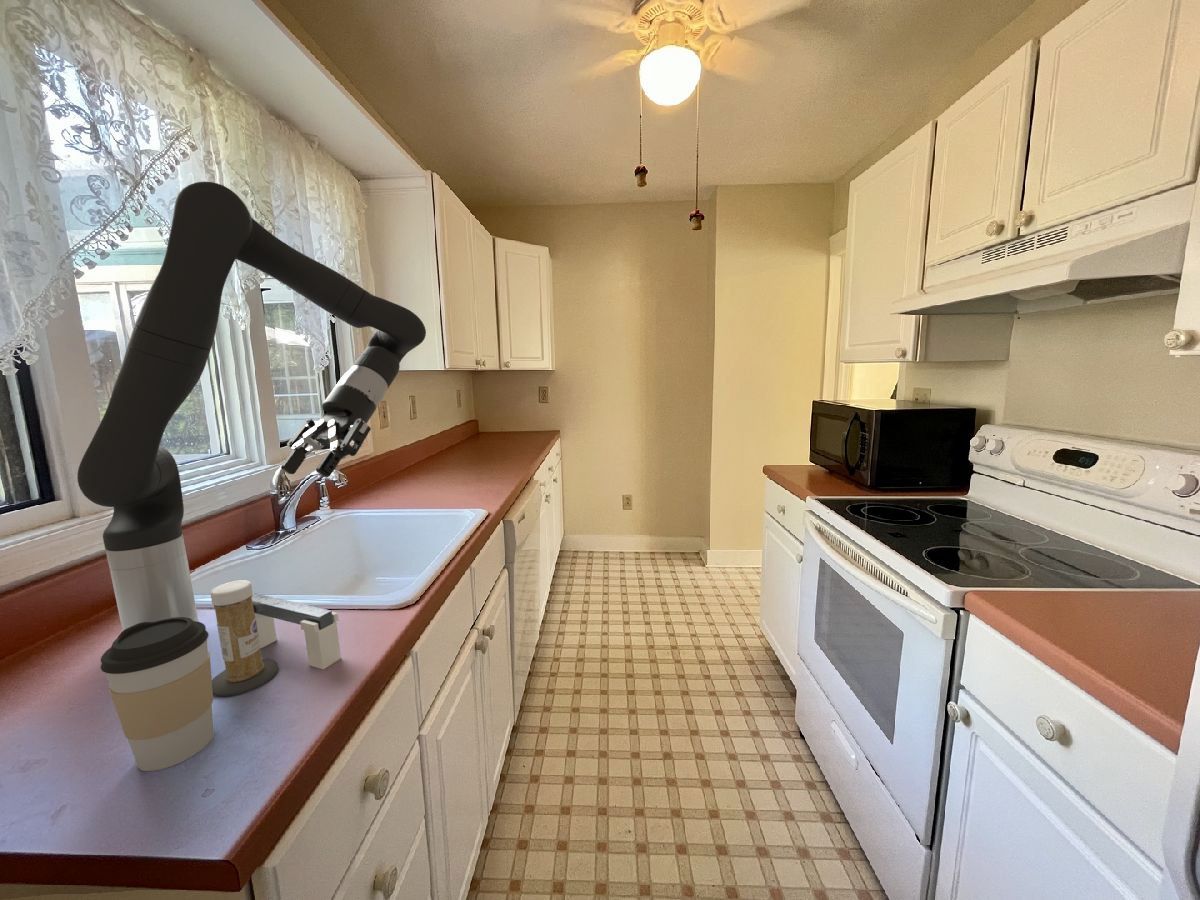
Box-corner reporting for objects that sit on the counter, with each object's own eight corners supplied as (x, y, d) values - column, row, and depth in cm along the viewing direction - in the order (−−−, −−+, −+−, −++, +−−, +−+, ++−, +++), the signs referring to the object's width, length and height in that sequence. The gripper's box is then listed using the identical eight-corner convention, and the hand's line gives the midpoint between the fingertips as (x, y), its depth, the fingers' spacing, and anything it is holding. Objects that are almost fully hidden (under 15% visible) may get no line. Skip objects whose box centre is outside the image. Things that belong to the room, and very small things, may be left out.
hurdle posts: (243, 647, 77) (236, 605, 76) (267, 635, 81) (261, 595, 80) (320, 671, 70) (314, 625, 69) (343, 656, 74) (337, 612, 73)
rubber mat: (196, 689, 67) (195, 685, 67) (256, 657, 74) (255, 654, 74) (231, 702, 64) (231, 698, 64) (290, 668, 71) (290, 664, 71)
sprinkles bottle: (264, 675, 69) (249, 586, 67) (224, 687, 66) (207, 596, 64) (265, 660, 73) (251, 576, 70) (227, 671, 70) (211, 584, 68)
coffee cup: (244, 724, 60) (224, 612, 57) (164, 785, 51) (137, 655, 49) (187, 715, 62) (166, 606, 59) (101, 772, 53) (72, 647, 51)
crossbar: (243, 610, 77) (241, 598, 77) (256, 604, 79) (254, 593, 79) (320, 629, 70) (319, 617, 70) (333, 623, 72) (331, 610, 72)
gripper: (313, 383, 86) (256, 458, 78) (371, 381, 80) (315, 461, 72) (343, 411, 92) (293, 483, 83) (399, 410, 86) (351, 488, 77)
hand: (303, 473), depth 78 cm, fingers open, 8 cm apart
